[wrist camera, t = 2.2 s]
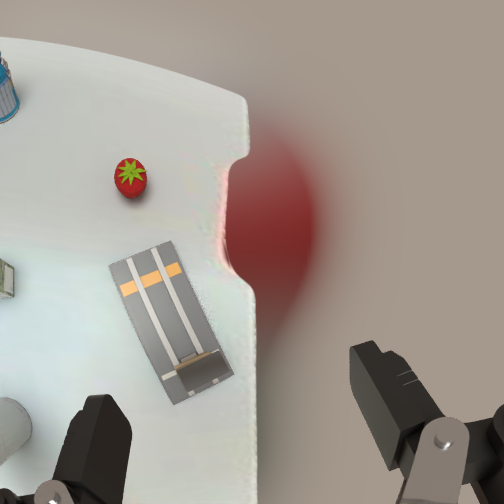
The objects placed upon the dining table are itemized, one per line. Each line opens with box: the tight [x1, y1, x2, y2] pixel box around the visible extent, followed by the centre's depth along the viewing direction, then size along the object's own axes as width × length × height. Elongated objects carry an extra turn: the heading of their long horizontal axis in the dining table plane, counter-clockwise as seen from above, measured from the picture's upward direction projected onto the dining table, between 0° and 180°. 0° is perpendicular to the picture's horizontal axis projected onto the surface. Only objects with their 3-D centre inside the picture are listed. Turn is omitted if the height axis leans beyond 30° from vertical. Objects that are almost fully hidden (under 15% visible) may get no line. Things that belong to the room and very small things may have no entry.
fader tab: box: [174, 351, 230, 392], centre depth 47 cm, size 4×7×11 cm, turn 117°
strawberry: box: [114, 158, 147, 198], centre depth 54 cm, size 6×8×10 cm
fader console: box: [109, 241, 234, 405], centre depth 53 cm, size 26×12×4 cm, turn 27°
